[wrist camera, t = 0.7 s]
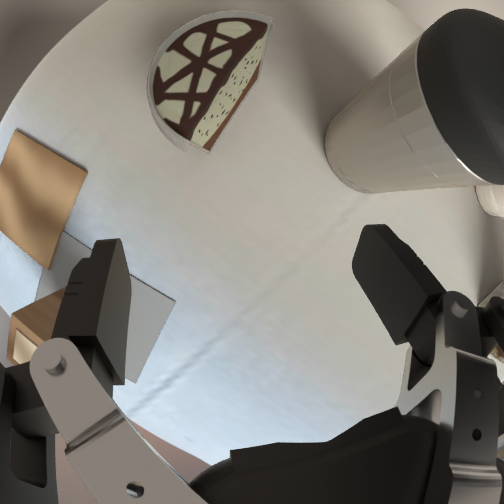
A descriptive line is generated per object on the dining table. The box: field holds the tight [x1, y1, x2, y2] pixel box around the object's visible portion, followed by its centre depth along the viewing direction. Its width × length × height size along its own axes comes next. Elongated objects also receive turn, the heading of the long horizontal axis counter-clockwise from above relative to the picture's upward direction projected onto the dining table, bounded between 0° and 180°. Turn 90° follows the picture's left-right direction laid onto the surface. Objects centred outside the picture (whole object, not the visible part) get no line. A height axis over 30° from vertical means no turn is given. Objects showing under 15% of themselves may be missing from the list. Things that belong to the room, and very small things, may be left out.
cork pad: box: [0, 130, 88, 270], centre depth 26 cm, size 12×14×1 cm
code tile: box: [35, 231, 176, 384], centre depth 29 cm, size 12×16×1 cm
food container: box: [147, 10, 273, 154], centre depth 21 cm, size 12×6×10 cm, turn 150°
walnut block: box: [7, 287, 66, 366], centre depth 23 cm, size 5×5×12 cm
